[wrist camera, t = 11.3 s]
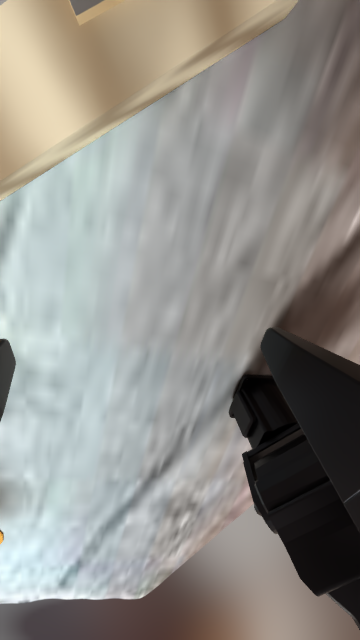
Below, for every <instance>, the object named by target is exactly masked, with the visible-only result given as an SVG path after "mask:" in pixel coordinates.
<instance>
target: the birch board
mask: <svg viewBox="0 0 360 640" xmlns="http://www.w3.org/2000/svg"><path fill="white" fill-rule="evenodd" d="M298 1H299V0H125V1H123V2H121V3H119V4H118V5H116V6H114V7H112V8H111V9H109V10H107V11H105V12H103V13H102V14H100V15H98V16H96V17H94V18H93V19H91V20H89V21H87V22H86V23H84V24H82V25H80V26H79V23H78V21H77V19H76V16H75V14H74V12H73V9H72V7H71V5H70V2H69V0H0V201H1V200H3V199H4V198H6V197H7V196H9V195H10V194H12V193H14V192H15V191H17V190H18V189H20V188H21V187H23V186H24V185H26V184H28V183H29V182H31V181H32V180H34V179H35V178H37V177H38V176H40V175H42V174H43V173H45V172H46V171H48V170H49V169H51V168H53V167H54V166H56V165H57V164H59V163H60V162H62V161H63V160H65V159H67V158H68V157H70V156H71V155H73V154H74V153H76V152H77V151H79V150H81V149H82V148H84V147H85V146H87V145H88V144H90V143H91V142H93V141H95V140H96V139H98V138H99V137H101V136H102V135H104V134H106V133H107V132H109V131H110V130H112V129H113V128H115V127H116V126H118V125H120V124H121V123H123V122H124V121H126V120H127V119H129V118H130V117H132V116H134V115H135V114H137V113H138V112H140V111H141V110H143V109H145V108H146V107H148V106H149V105H151V104H152V103H154V102H155V101H157V100H159V99H160V98H162V97H163V96H165V95H166V94H168V93H169V92H171V91H173V90H174V89H176V88H177V87H179V86H180V85H182V84H183V83H185V82H187V81H188V80H190V79H191V78H193V77H194V76H196V75H198V74H199V73H201V72H202V71H204V70H205V69H207V68H208V67H210V66H212V65H213V64H215V63H216V62H218V61H219V60H221V59H222V58H224V57H226V56H227V55H229V54H230V53H232V52H233V51H235V50H236V49H238V48H240V47H241V46H243V45H244V44H246V43H247V42H249V41H251V40H252V39H254V38H255V37H257V36H258V35H260V34H261V33H263V32H265V31H266V30H268V29H269V28H271V27H272V26H274V25H275V24H277V23H279V22H280V21H282V20H283V19H285V18H286V16H287V15H288V14H289V13H290V11H291V10H292V9H293V7H294V6H295V5H296V3H297V2H298Z"/></svg>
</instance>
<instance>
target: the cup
mask: <svg viewBox="0 0 360 640" xmlns="http://www.w3.org/2000/svg"><path fill="white" fill-rule="evenodd" d="M2 542H3V534H2V533H1V532H0V544H1V543H2Z"/></svg>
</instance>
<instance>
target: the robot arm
mask: <svg viewBox="0 0 360 640" xmlns="http://www.w3.org/2000/svg"><path fill="white" fill-rule="evenodd" d="M261 350H262V353H263V355H264V357H265V359H266V362H267V364H268V366H269V368H270V371H271V373H272V375H273V376H258V375H245V376H243V378H242V380H241V382H240V385H239V387H238V390H237V392H236V394H235V397H234V399H233V402H232V405H231V408H230V411H229V415H230V417H231V418H235V419H236V421H237V423H238V426H239V428H240V430H241V432H242V435H243V436H244V437H245V438H248V440H249V442H250V445H251V447H252V450H250V451H248V452H247V451H246V452H244V453H243V454H242V456H243V460H244V462H243V463H244V467H245V471H246V475H247V479H248V483H249V487H250V490H251V494H252V498H253V502H254V508H255V510H256V512H257V514H259V515H261V516H262V517H263V519H264V520H265V522H266V524H267V525H268V527H269V528H270V529H271V530H272V531H273V532H274V533H275V534H278V535H279V536H280V538H281V540H282V542H283V544H284V545H285V547H286V549H287V552H288V554H289V555H290V558H291V560H292V562H293V564H294V566H295V569H296V571H297V573H298V575H299V577H300V579H301V580H302V581H303V582H304V583H305V584H306V585H307V586H308V588H309V589H310V590H311V591H312V592H313V593H314V594H315V595H316V596H321V595H323V594H327V595H328V596H329V597H330V598H331V599H332V600H333V601H334V602H336V603H337V604H338V605H339V606H340V607H341V608H342V609H343V610H345V611H346V612H347V613H348V614H349V615H350V616H351V617H352V618H353V619H354V621H355V623H356V625H357V626H358V628H359V630H360V365H358V364H356V363H354V362H352V361H350V360H347V359H345V358H343V357H341V356H339V355H337V354H334V353H332V352H330V351H328V350H326V349H324V348H321V347H319V346H317V345H315V344H313V343H311V342H308V341H306V340H304V339H302V338H300V337H298V336H296V335H293V334H291V333H289V332H287V331H285V330H283V329H280V328H268V329H267V330H266V332H265V335H264V337H263V340H262V342H261ZM15 365H16V361H15V357H14V354H13V351H12V349H11V346H10V343H9V341H8V340H6V339H0V421H1V418H2V415H3V413H4V409H5V406H6V402H7V398H8V394H9V390H10V386H11V382H12V378H13V374H14V370H15Z"/></svg>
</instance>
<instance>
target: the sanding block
mask: <svg viewBox="0 0 360 640" xmlns="http://www.w3.org/2000/svg"><path fill="white" fill-rule="evenodd" d="M123 1H125V0H69V2H70V5H71V7H72V9H73V12H74V14H75V16H76V19H77V21H78V23H79V26H80V25H82V24H84V23H86V22H87V21H89V20H91V19H93V18H94V17H96V16H98V15H100V14H102V13H103V12H105V11H107V10H109V9H111V8H112V7H114V6H116V5H118V4H119V3H121V2H123Z"/></svg>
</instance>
